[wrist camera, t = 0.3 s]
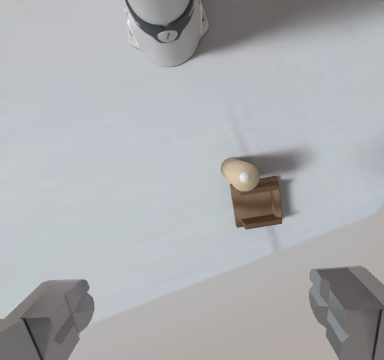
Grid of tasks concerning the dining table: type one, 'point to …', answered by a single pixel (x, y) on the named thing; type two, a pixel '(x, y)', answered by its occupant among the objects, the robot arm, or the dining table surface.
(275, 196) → the holder
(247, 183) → the beige bottle
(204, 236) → the dining table surface
